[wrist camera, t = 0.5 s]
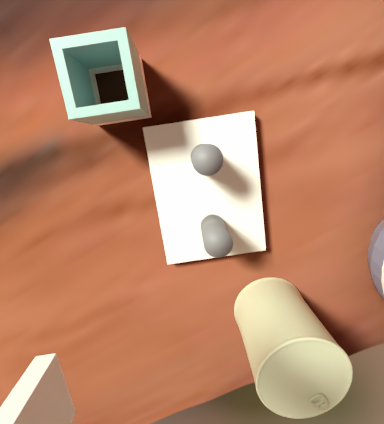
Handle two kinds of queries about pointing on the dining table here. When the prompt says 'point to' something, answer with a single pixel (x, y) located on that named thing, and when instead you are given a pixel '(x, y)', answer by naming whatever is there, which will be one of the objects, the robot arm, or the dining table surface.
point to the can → (290, 351)
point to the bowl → (377, 258)
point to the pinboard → (207, 186)
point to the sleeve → (94, 64)
